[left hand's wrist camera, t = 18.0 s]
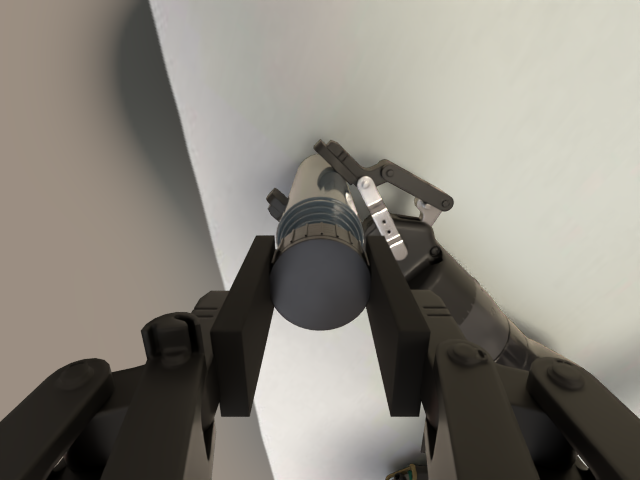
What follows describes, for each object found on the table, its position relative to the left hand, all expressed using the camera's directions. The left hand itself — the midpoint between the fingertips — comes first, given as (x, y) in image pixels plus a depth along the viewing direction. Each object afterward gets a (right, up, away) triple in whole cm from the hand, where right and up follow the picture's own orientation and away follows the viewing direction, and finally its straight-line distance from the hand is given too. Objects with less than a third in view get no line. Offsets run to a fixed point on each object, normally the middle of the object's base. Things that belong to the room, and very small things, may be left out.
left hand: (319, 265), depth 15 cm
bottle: (0, +7, +17) cm, 19 cm away
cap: (0, -1, -2) cm, 2 cm away
